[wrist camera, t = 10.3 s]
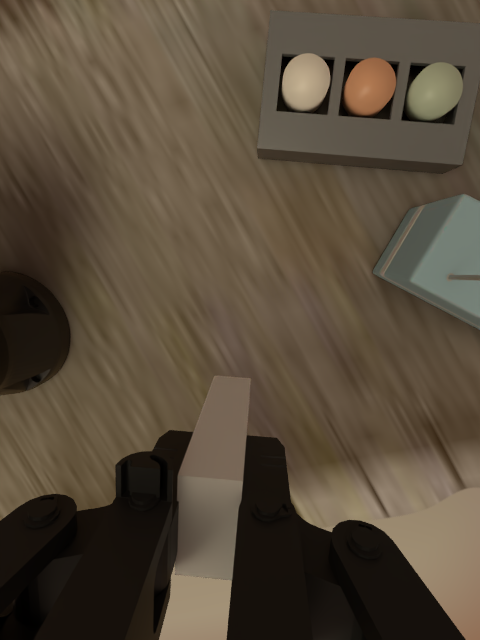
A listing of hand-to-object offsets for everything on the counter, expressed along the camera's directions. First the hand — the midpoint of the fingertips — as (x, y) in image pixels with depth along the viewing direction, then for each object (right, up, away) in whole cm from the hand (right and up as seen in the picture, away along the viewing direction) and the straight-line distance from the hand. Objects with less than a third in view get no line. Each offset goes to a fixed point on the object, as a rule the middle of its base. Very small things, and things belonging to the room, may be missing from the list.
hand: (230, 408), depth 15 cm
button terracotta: (+13, +26, +21) cm, 36 cm away
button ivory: (+7, +27, +21) cm, 35 cm away
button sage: (+19, +25, +20) cm, 37 cm away
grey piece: (+13, +26, +23) cm, 37 cm away
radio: (+24, +9, +26) cm, 37 cm away
